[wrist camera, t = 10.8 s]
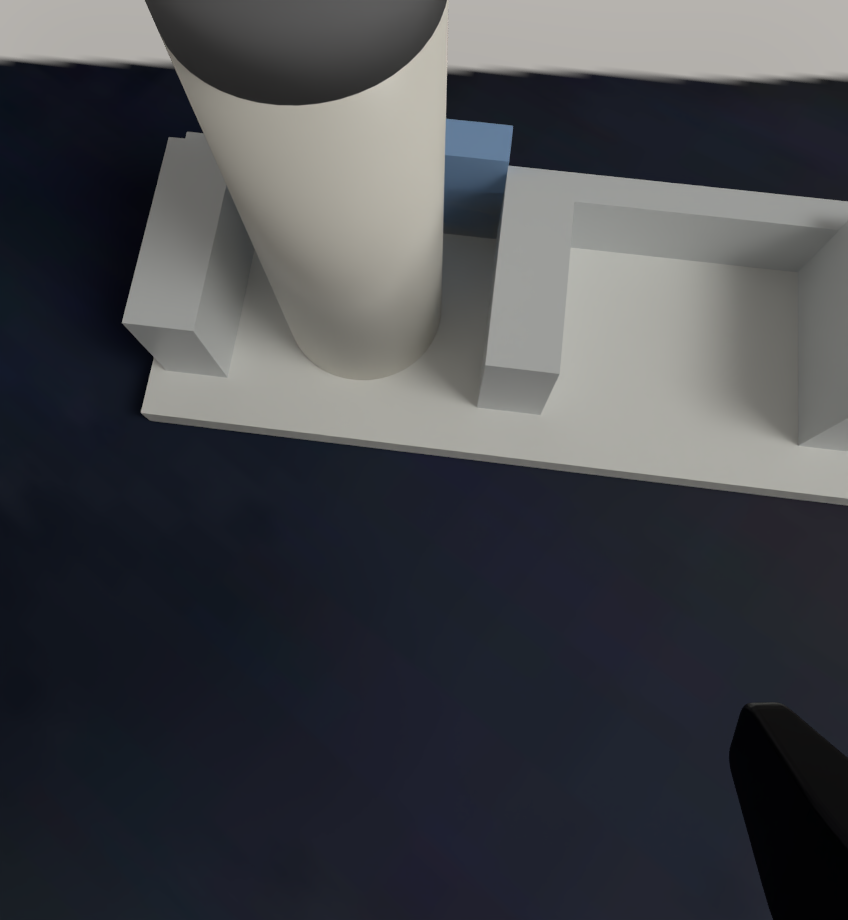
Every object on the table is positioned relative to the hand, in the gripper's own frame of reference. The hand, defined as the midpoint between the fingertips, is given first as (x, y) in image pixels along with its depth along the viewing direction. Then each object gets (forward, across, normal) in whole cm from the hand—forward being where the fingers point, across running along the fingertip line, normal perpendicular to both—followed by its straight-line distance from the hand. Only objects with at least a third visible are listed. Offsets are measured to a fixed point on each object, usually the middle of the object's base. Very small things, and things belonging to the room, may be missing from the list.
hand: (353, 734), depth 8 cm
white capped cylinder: (+17, +1, +1) cm, 17 cm away
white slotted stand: (+18, -4, +2) cm, 18 cm away
